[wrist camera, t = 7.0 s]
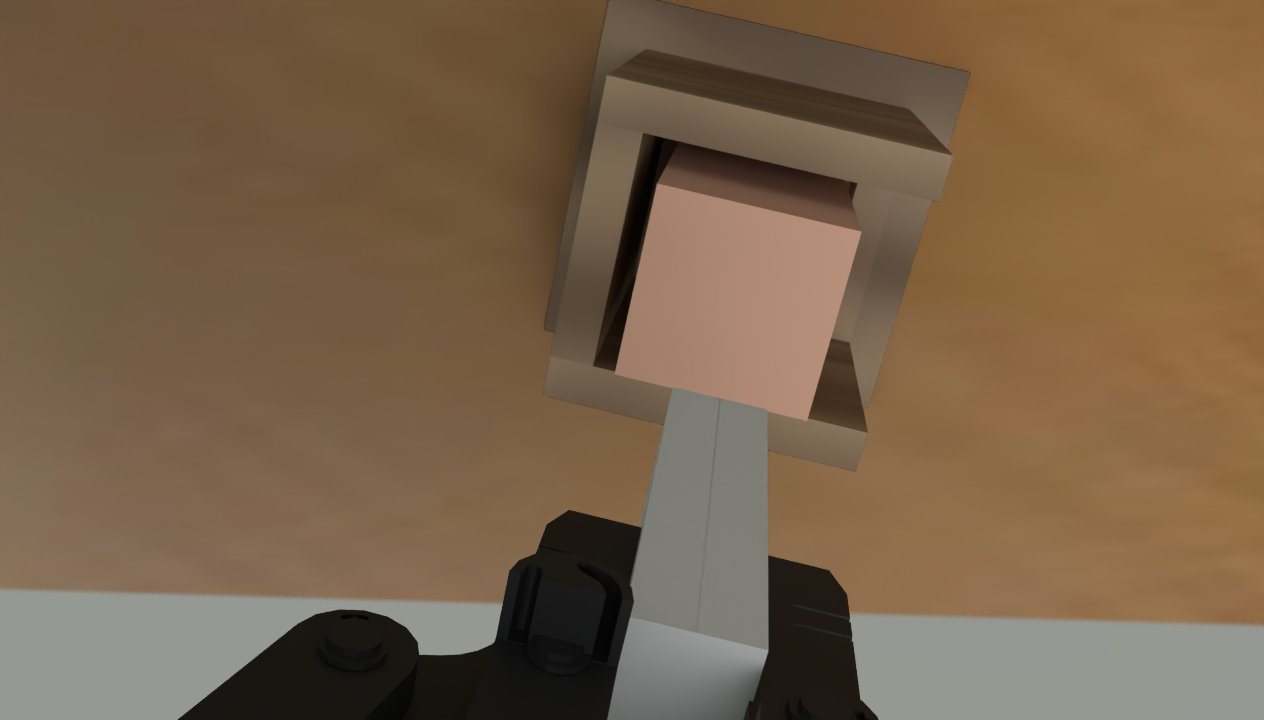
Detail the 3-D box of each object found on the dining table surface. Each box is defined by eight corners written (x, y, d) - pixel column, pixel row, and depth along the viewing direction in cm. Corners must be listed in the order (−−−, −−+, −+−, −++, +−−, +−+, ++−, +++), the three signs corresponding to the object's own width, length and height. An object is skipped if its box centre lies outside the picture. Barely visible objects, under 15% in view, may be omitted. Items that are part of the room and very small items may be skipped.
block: (689, 121, 39) (657, 183, 28) (836, 156, 38) (861, 231, 28) (657, 263, 40) (614, 374, 29) (797, 297, 40) (806, 421, 29)
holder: (613, -11, 39) (559, -2, 29) (968, 71, 38) (1035, 108, 28) (546, 324, 43) (479, 432, 33) (866, 402, 42) (894, 534, 32)
